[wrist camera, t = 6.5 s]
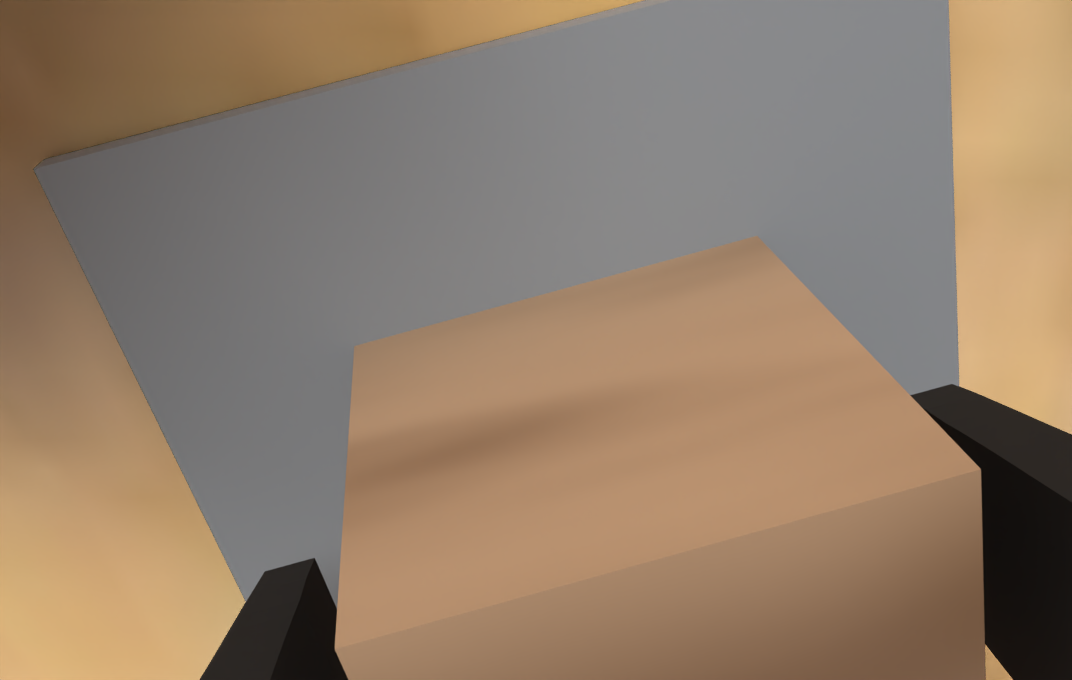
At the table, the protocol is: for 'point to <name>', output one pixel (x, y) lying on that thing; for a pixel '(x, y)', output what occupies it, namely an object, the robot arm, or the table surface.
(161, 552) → the table surface
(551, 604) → the walnut cube
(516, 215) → the mat
